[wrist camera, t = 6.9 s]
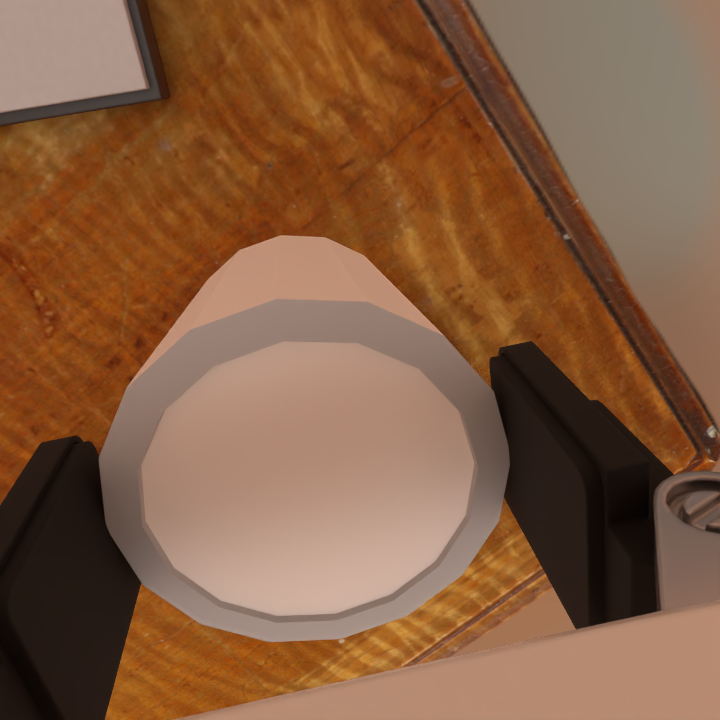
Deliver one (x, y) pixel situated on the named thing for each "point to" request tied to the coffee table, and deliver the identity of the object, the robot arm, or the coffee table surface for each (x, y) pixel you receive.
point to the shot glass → (302, 451)
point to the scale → (76, 57)
